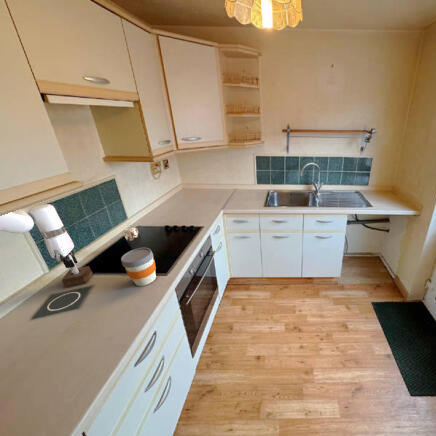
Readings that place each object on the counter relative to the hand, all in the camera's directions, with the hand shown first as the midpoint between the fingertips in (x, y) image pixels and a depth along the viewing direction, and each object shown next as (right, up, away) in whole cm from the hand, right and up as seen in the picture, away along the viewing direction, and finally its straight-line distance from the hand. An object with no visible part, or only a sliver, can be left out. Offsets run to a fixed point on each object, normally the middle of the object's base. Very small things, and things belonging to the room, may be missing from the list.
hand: (72, 265), depth 109 cm
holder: (0, -8, +4) cm, 9 cm away
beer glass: (+14, +2, +26) cm, 30 cm away
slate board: (+5, -14, -9) cm, 18 cm away
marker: (0, -6, +3) cm, 7 cm away
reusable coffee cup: (+33, -8, +3) cm, 35 cm away
